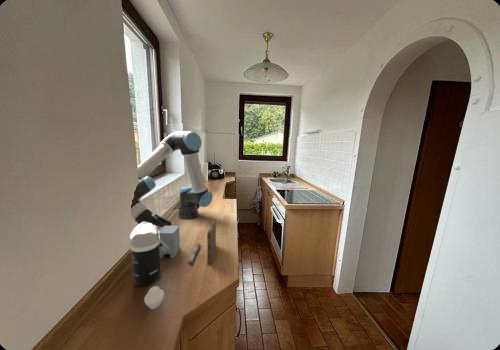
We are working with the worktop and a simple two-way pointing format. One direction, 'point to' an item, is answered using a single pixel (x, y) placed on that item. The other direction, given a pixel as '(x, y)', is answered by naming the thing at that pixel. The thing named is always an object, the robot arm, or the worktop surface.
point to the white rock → (154, 297)
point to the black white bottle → (145, 253)
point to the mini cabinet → (170, 240)
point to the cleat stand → (210, 243)
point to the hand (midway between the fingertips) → (172, 242)
